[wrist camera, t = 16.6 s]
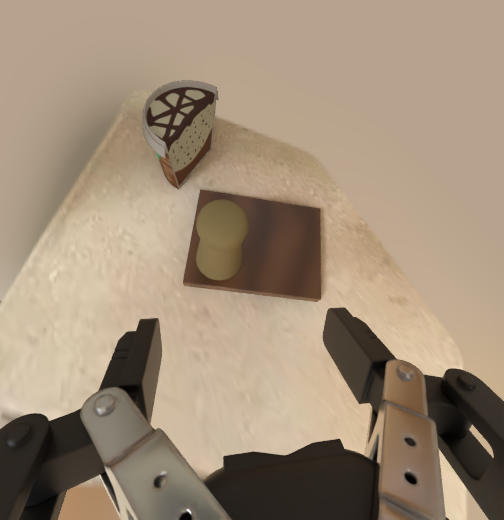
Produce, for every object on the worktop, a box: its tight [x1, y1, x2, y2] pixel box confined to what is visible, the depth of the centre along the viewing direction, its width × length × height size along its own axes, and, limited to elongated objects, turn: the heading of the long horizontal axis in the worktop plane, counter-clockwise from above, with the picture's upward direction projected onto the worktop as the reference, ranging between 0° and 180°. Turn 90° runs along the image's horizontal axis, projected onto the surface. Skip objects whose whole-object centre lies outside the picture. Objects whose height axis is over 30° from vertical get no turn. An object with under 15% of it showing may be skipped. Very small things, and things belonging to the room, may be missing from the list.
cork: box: [196, 199, 249, 280], centre depth 31 cm, size 6×6×11 cm
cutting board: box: [183, 190, 321, 302], centre depth 38 cm, size 18×14×2 cm
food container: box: [143, 80, 218, 189], centre depth 38 cm, size 12×6×10 cm, turn 151°
